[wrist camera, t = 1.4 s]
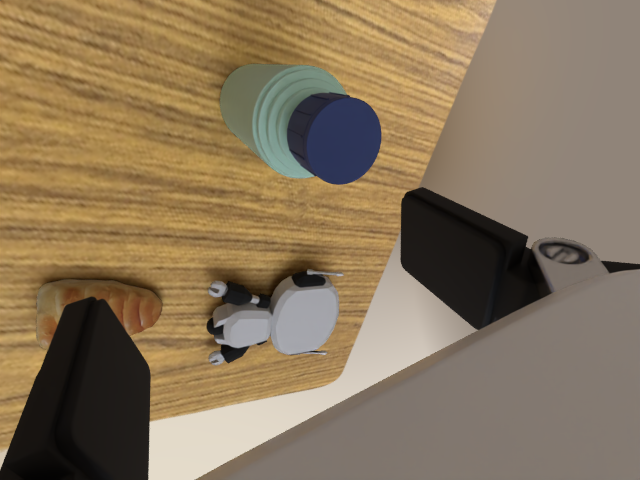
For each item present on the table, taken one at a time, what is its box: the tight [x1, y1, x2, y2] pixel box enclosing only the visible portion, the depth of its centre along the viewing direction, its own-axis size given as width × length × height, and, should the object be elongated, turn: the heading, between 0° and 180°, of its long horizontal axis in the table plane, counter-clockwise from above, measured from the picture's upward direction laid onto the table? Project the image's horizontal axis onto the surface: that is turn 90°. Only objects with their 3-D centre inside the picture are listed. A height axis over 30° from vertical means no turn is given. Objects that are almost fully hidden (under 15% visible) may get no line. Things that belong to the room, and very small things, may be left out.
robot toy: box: [207, 269, 344, 365], centre depth 37 cm, size 12×4×15 cm
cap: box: [287, 92, 381, 185], centre depth 16 cm, size 4×4×3 cm
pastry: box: [36, 279, 162, 350], centre depth 28 cm, size 9×7×4 cm
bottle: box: [220, 64, 347, 178], centre depth 21 cm, size 6×6×16 cm
